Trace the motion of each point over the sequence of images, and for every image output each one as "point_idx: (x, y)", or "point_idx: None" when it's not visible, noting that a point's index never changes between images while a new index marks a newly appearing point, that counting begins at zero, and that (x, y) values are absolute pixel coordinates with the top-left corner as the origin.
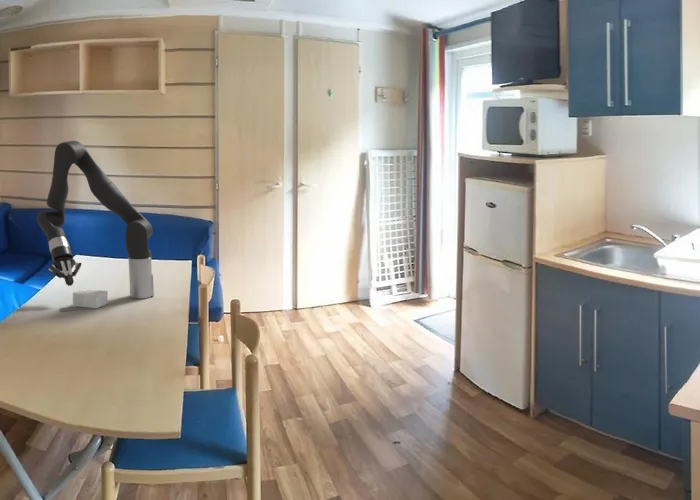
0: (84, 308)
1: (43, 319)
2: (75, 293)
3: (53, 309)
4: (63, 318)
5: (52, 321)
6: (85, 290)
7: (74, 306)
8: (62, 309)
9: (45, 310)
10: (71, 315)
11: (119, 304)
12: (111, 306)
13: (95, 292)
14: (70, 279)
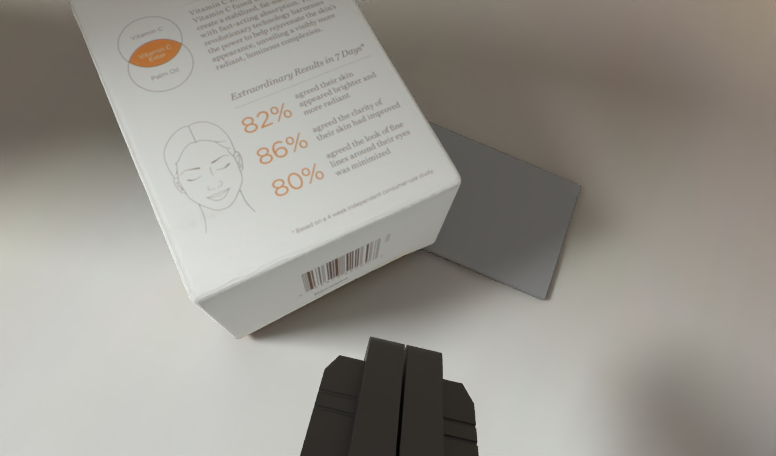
0: None
1: (761, 108)
2: (440, 144)
3: (606, 322)
4: (631, 22)
5: (719, 19)
6: (256, 188)
7: None
8: (550, 233)
9: (678, 349)
10: (554, 41)
11: None
12: None
13: (228, 23)
14: (390, 389)
